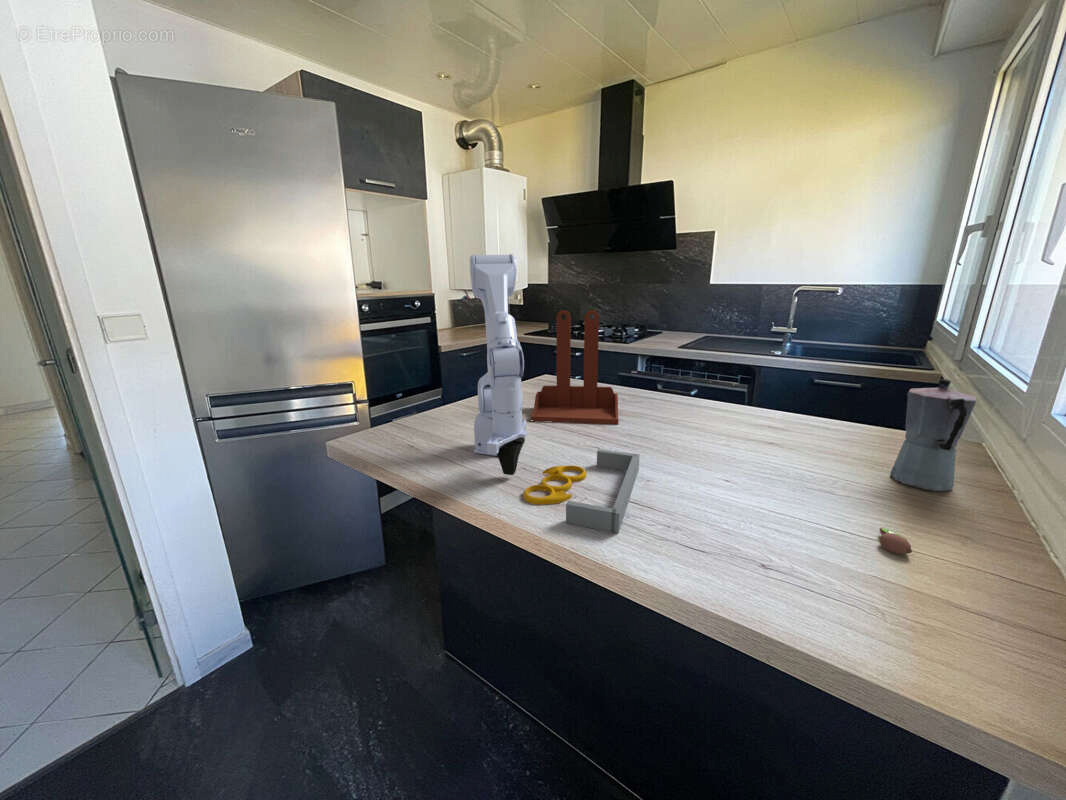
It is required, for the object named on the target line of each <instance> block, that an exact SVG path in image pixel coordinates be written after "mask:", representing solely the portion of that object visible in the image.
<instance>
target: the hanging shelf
mask: <svg viewBox="0 0 1066 800" xmlns="http://www.w3.org/2000/svg"><path fill="white" fill-rule="evenodd" d="M562 315H565V317H566V318H564V319H563V318H562ZM591 315H593V316H594V318H593V319H592V318H590V316H591ZM571 317H572V316H571V313H570V312H569V311H568V310H566V309H565V310H564V309H563V310H559V311H558V313H556V385H546V384H545V385H543V386H542V388H541V390H540V391H536V393H535V398H534V405H533V408H532V409H533V410H532V412H531V415H530V421H531V420H533V421H552V422H551V423H556V422H570V423H569V424H583V423H584V424H587V425H613V426H614V425H615V426H616V425H617V426H618V425H619V395H618V393H615V392H614V390H613V388H612V387H611V386H598V377H599V376H598V375H599V373H598V371H599V370H598V369H599V368H598V367H599V366H598V365H599V337H600V335H599V334H600V333H599V330H600V314H599V313H598V312H597V311H596V310H595V309H594V310H593V309H591V310H590V309H589V310H587V312H585V315H584V329H583V330H584V335H583V336H584V338H583V339H584V343H583V386H579V385H571V333H572V331H571V328H572V327H571V325H572V323H571V321H572V319H571Z"/></svg>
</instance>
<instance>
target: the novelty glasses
mask: <svg viewBox="0 0 1066 800" xmlns="http://www.w3.org/2000/svg"><path fill="white" fill-rule="evenodd" d="M569 471H573V472H574V471H575V472H578V473H580V474H578V475H568V474H564V473H565V472H569ZM542 475H547V476H545V477H543V478H542V480H541V483H540V484H534V485H530V486H528V487H526V488H525V490H524V491H523V498H524V500H525V501H526V502H527V503H529V504H532V505H537V506H538V505H556V504H560V503H561V504H562V503H565V502H566V501H569V500H570V499H572V497H573V494H572V493H567V491H570V490H571V489H572V487H573V485H572V484H573V483H578V482H579V483H580V482H581V481H584V480H585V479H586V478H587V471H586V469H585V468H583V467H582V466H578V465H556V466H552V467H548V468H546V469H544V470H543V471H542ZM551 481H561V482H565V484H562V485H550V484H548V482H551ZM535 491H545V492H547V493H550V494H549V495H547V496H532V495H531V494H530V493H532V492H535Z"/></svg>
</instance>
